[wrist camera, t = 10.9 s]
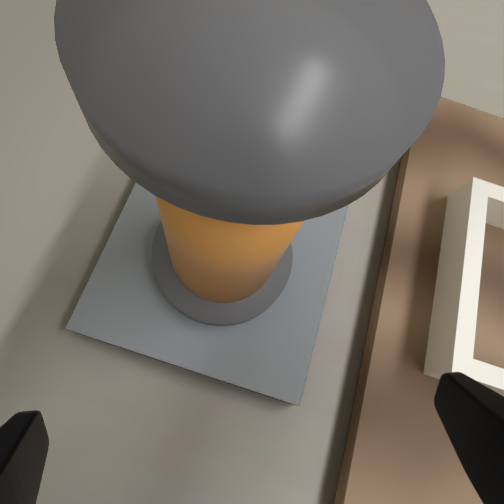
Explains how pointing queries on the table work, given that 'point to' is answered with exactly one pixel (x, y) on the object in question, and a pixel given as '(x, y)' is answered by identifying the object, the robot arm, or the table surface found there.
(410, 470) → the walnut board
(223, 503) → the table surface
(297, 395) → the grey mat
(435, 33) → the orange cylinder grey ends
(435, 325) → the white square frame
